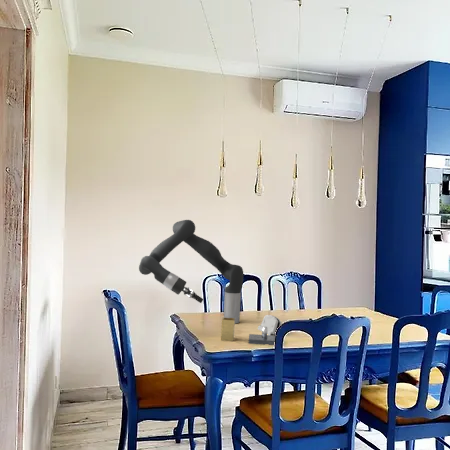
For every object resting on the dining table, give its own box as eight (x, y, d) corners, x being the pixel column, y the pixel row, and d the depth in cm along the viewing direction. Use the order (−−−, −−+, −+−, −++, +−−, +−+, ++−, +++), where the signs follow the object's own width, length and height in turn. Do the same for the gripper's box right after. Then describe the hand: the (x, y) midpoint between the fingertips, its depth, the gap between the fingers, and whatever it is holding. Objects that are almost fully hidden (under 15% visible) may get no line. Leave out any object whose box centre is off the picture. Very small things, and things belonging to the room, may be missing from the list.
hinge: (257, 328, 260) (263, 311, 261) (264, 331, 261) (270, 314, 262) (269, 336, 244) (276, 317, 245) (277, 338, 245) (284, 320, 246)
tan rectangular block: (222, 337, 236) (222, 317, 236) (234, 338, 235) (234, 318, 235) (220, 340, 230) (221, 319, 230) (233, 341, 229) (234, 320, 229)
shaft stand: (249, 338, 237) (249, 324, 237) (279, 339, 236) (280, 325, 236) (248, 343, 226) (249, 328, 226) (280, 345, 225) (280, 330, 225)
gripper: (178, 275, 228) (206, 294, 227) (179, 277, 242) (206, 295, 241) (169, 289, 227) (198, 307, 226) (171, 290, 241) (198, 307, 240)
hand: (202, 301), depth 233 cm, fingers open, 8 cm apart
